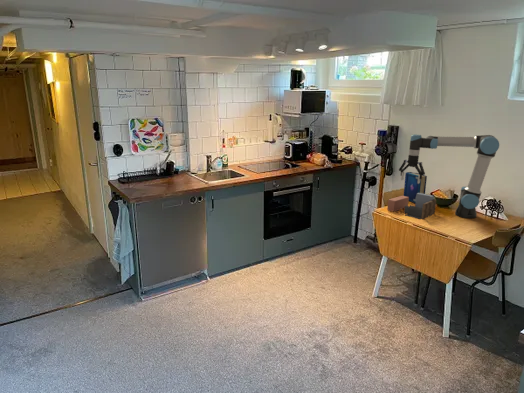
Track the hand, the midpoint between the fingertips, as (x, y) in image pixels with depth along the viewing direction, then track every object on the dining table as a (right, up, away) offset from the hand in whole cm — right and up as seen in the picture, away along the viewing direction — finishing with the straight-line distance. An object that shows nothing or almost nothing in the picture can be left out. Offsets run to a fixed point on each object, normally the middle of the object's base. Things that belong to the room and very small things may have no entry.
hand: (410, 181), depth 309 cm
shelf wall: (+13, -27, -1) cm, 30 cm away
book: (+17, -16, +39) cm, 45 cm away
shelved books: (+14, -24, +9) cm, 29 cm away
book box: (-4, -22, +18) cm, 29 cm away
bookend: (+2, -27, 0) cm, 27 cm away
